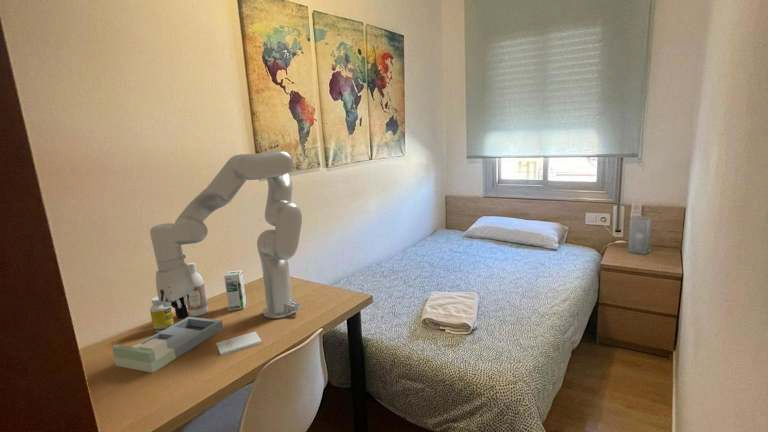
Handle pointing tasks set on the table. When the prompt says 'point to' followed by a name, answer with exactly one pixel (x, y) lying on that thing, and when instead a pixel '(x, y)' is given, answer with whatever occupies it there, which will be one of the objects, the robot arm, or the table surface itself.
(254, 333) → the external hard drive
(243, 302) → the syrup box
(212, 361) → the table surface
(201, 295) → the bath foam
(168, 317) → the pill bottle
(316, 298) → the table surface
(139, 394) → the table surface
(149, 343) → the block
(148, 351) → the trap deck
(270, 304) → the robot arm
